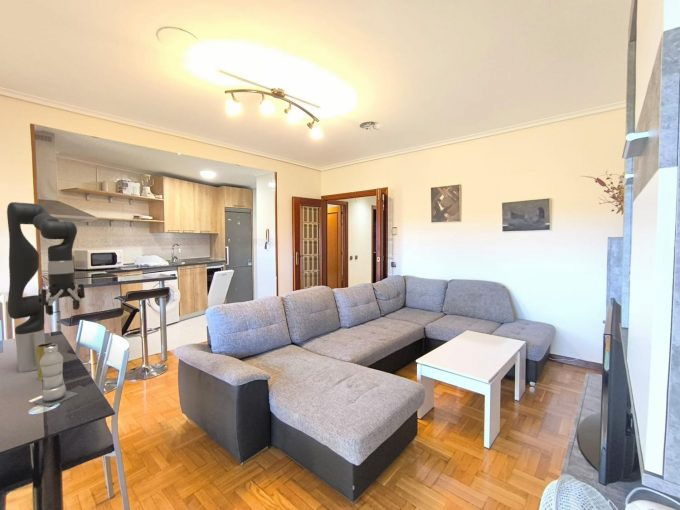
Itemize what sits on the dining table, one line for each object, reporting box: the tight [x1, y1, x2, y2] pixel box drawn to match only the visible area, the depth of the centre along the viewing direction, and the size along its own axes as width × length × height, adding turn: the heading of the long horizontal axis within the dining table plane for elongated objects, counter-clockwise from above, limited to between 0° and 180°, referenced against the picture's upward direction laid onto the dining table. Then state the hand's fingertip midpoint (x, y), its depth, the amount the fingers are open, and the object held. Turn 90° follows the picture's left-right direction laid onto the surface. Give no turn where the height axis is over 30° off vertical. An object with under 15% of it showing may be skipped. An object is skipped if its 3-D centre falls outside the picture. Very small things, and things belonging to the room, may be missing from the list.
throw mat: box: [28, 390, 79, 408], centre depth 113 cm, size 12×9×1 cm
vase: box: [37, 342, 55, 381], centre depth 130 cm, size 6×6×14 cm
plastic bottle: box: [40, 343, 67, 401], centre depth 111 cm, size 6×7×20 cm
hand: (63, 312), depth 121 cm, fingers open, 8 cm apart
